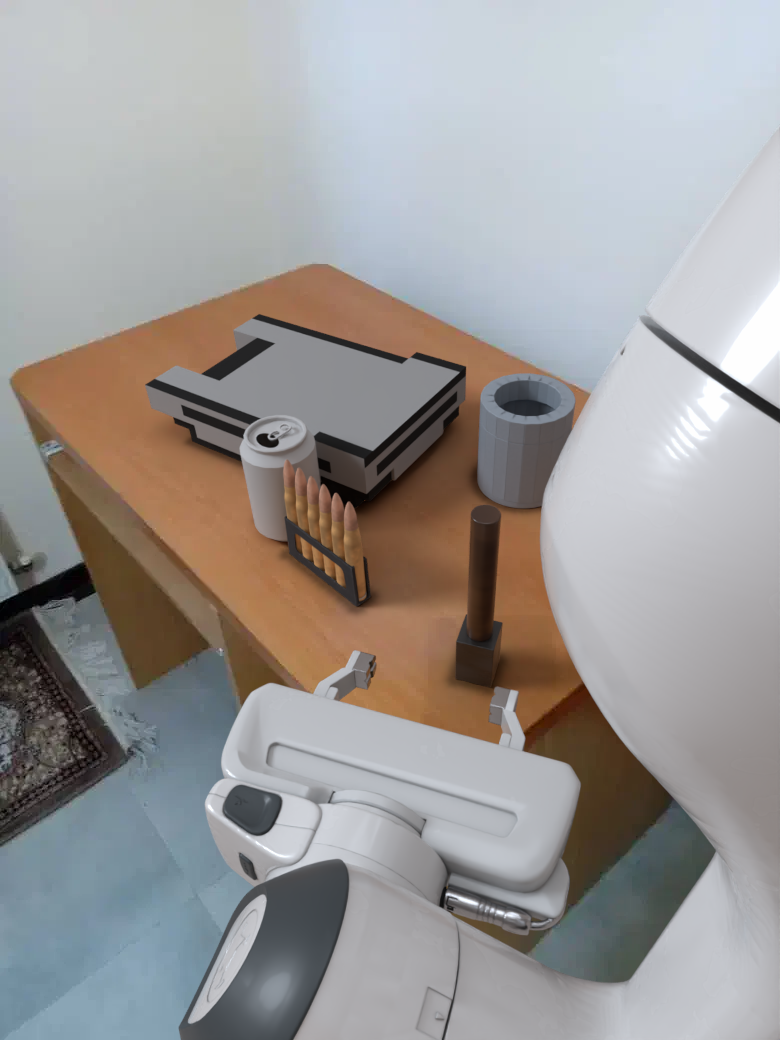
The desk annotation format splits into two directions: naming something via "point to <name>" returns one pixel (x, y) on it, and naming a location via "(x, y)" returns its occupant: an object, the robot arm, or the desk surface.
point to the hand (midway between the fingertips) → (434, 675)
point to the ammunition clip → (325, 535)
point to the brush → (481, 602)
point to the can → (275, 467)
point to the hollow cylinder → (522, 436)
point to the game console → (319, 401)
